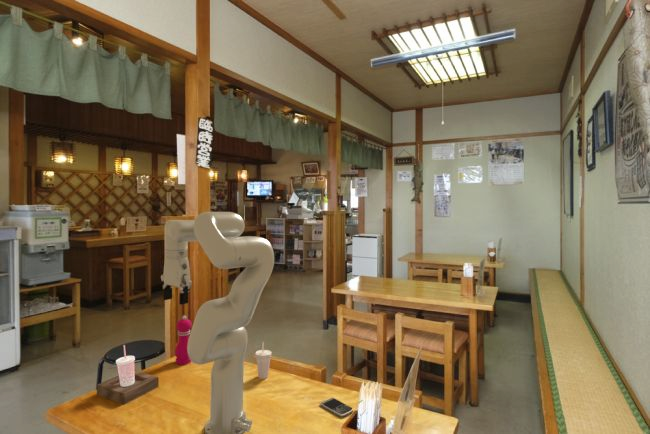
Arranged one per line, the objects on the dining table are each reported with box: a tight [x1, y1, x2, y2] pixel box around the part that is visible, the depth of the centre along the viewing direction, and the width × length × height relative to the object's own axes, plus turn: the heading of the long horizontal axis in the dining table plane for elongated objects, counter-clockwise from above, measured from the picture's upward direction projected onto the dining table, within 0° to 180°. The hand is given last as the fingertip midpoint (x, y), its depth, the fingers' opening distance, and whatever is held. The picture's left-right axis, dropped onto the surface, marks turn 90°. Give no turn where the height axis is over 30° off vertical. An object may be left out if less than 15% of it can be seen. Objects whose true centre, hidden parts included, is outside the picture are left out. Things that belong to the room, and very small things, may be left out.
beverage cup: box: [115, 344, 136, 387], centre depth 136 cm, size 6×6×14 cm
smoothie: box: [254, 341, 273, 380], centre depth 150 cm, size 6×6×14 cm
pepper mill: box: [174, 315, 193, 366], centre depth 163 cm, size 7×7×20 cm
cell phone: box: [319, 397, 354, 418], centre depth 128 cm, size 6×11×1 cm, turn 43°
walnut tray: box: [96, 369, 160, 405], centre depth 137 cm, size 14×14×4 cm
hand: (175, 301), depth 137 cm, fingers open, 9 cm apart
